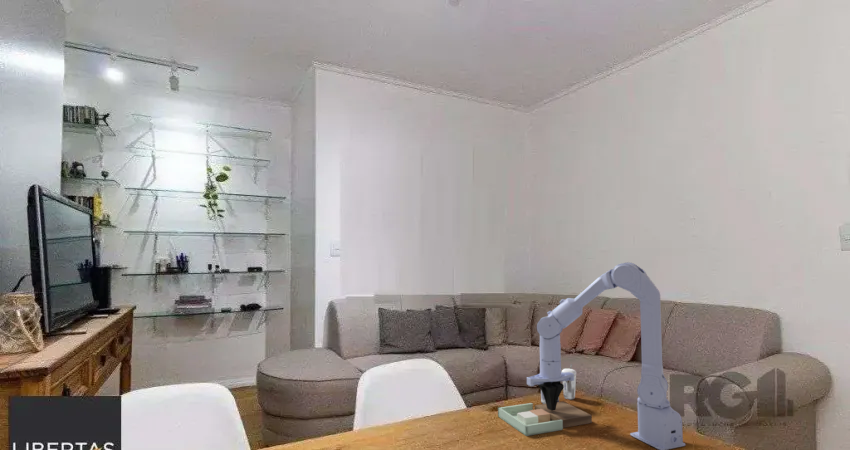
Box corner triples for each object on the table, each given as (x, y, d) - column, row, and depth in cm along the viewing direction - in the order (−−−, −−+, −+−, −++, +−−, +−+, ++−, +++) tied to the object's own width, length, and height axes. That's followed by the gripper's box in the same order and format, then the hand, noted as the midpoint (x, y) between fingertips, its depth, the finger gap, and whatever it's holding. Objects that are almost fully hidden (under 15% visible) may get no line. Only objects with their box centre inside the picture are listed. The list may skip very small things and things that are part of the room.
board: (591, 422, 119) (591, 415, 119) (561, 428, 115) (561, 420, 116) (563, 408, 130) (563, 401, 130) (534, 412, 127) (534, 405, 127)
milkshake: (579, 396, 141) (578, 364, 141) (575, 401, 136) (574, 368, 137) (564, 393, 143) (564, 362, 144) (560, 398, 138) (559, 366, 139)
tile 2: (550, 421, 119) (550, 413, 119) (537, 423, 118) (537, 415, 118) (541, 416, 123) (541, 408, 123) (529, 417, 121) (529, 410, 121)
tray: (562, 429, 114) (562, 420, 114) (526, 436, 110) (526, 426, 110) (531, 411, 127) (531, 402, 128) (497, 416, 123) (497, 407, 124)
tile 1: (538, 423, 117) (538, 416, 117) (525, 425, 116) (525, 418, 116) (529, 418, 121) (529, 411, 121) (517, 420, 120) (517, 412, 120)
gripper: (562, 354, 129) (563, 401, 128) (520, 358, 123) (520, 407, 123) (578, 359, 122) (579, 409, 121) (534, 364, 117) (535, 416, 116)
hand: (551, 409), depth 122 cm, fingers closed
